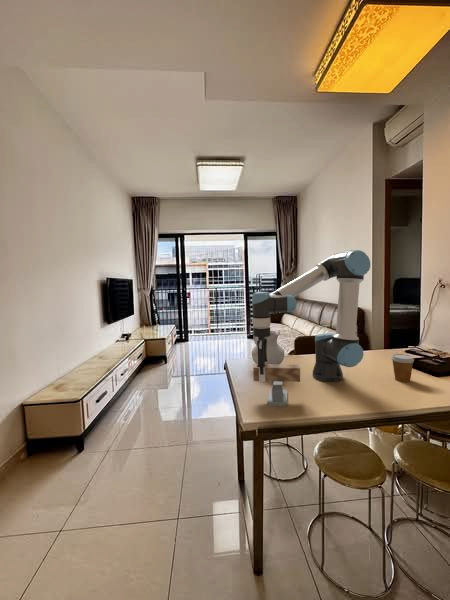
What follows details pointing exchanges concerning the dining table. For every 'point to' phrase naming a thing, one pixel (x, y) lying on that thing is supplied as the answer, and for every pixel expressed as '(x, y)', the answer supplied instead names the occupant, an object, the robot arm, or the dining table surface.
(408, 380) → the disposable coffee cup
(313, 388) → the dining table surface
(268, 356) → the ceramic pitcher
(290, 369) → the walnut bar
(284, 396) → the fulcrum
